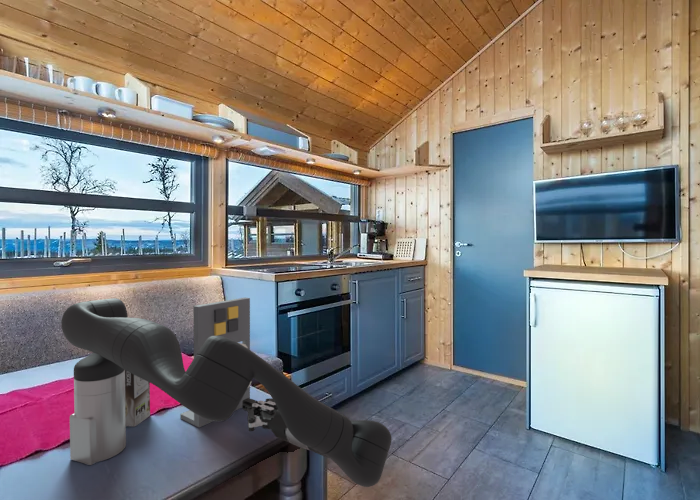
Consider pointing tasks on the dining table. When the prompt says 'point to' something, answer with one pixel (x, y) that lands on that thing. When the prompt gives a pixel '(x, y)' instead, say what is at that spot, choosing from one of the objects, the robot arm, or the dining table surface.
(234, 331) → the button panel
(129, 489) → the dining table surface
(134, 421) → the coffee box
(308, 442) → the robot arm
